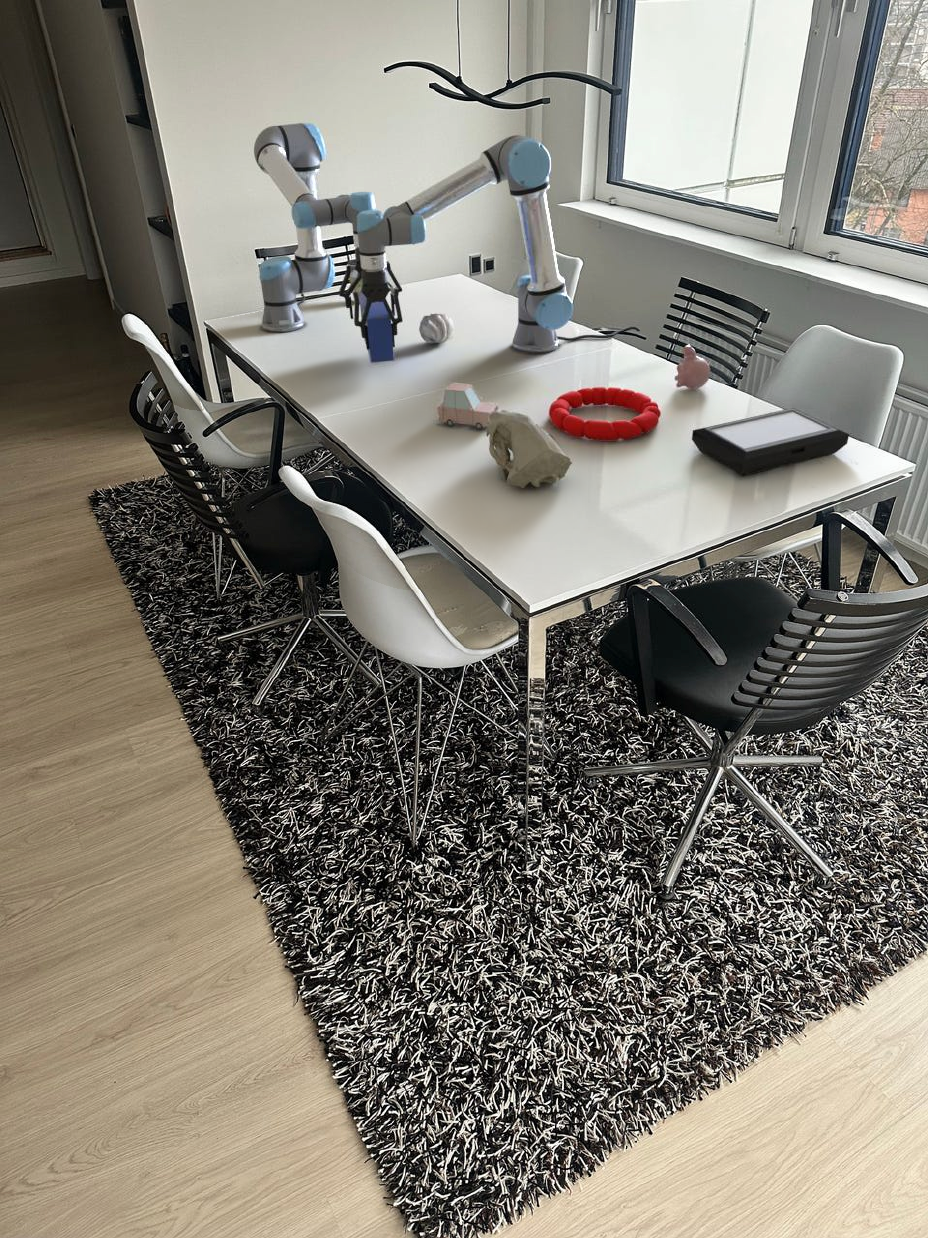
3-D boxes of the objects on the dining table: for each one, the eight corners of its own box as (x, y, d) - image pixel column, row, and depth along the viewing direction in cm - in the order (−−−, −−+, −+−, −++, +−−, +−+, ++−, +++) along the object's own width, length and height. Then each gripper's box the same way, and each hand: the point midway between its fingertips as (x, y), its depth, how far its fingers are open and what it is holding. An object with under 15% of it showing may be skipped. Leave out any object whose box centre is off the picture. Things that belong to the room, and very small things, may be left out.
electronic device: (744, 456, 208) (693, 426, 223) (740, 480, 212) (690, 450, 227) (850, 430, 218) (794, 404, 233) (844, 454, 222) (789, 427, 237)
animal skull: (496, 517, 219) (521, 479, 201) (463, 429, 225) (484, 384, 207) (557, 503, 225) (586, 465, 206) (523, 417, 231) (549, 373, 212)
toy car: (488, 432, 240) (488, 396, 234) (436, 426, 244) (434, 390, 239) (499, 419, 247) (499, 384, 241) (448, 413, 252) (447, 379, 246)
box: (362, 333, 296) (359, 293, 289) (384, 332, 297) (380, 292, 289) (371, 362, 272) (367, 319, 264) (394, 360, 273) (390, 317, 265)
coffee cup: (373, 304, 347) (369, 264, 338) (348, 305, 347) (344, 264, 339) (375, 297, 355) (372, 258, 347) (351, 298, 355) (347, 258, 347)
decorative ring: (589, 435, 224) (684, 402, 234) (527, 398, 247) (617, 369, 256) (589, 461, 229) (683, 427, 238) (529, 422, 251) (617, 393, 260)
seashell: (411, 342, 306) (409, 313, 300) (450, 335, 312) (448, 306, 306) (425, 350, 298) (423, 320, 293) (464, 342, 304) (463, 313, 299)
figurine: (665, 387, 264) (669, 347, 257) (693, 380, 268) (698, 340, 261) (686, 396, 257) (690, 355, 250) (714, 388, 262) (720, 348, 255)
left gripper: (327, 252, 273) (335, 322, 285) (407, 246, 276) (412, 316, 288) (325, 247, 279) (333, 316, 291) (404, 241, 283) (409, 309, 295)
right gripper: (340, 274, 256) (348, 353, 269) (409, 269, 258) (414, 347, 271) (338, 268, 262) (347, 346, 275) (406, 263, 264) (411, 340, 277)
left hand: (372, 316), depth 290 cm, fingers open, 13 cm apart
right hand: (380, 346), depth 273 cm, fingers closed on box, 7 cm apart
